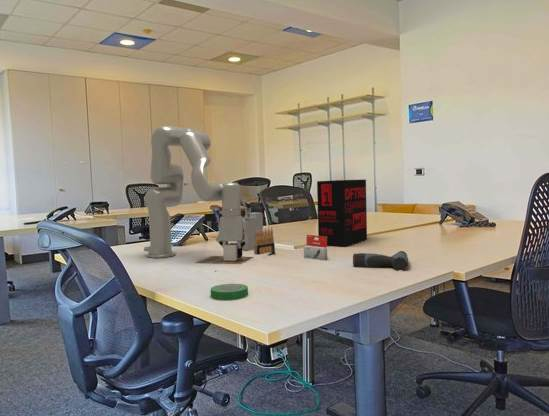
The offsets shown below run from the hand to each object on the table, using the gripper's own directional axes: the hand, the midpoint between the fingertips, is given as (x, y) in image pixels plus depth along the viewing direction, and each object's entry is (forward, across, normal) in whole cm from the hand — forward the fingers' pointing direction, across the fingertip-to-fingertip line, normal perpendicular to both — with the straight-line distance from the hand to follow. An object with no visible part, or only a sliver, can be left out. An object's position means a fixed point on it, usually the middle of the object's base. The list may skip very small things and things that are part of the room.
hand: (233, 257), depth 186 cm
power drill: (+3, +59, +4) cm, 59 cm away
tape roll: (+3, +18, -48) cm, 51 cm away
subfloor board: (+2, -4, 0) cm, 4 cm away
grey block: (+1, 0, 0) cm, 1 cm away
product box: (+3, +36, +60) cm, 70 cm away
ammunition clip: (+3, +7, +19) cm, 21 cm away
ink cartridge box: (+3, +31, +14) cm, 35 cm away
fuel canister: (+3, -6, +36) cm, 37 cm away
